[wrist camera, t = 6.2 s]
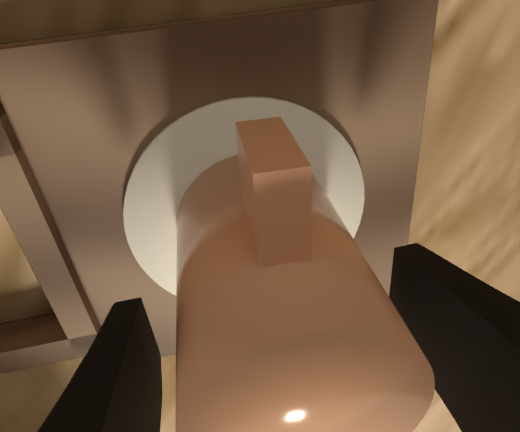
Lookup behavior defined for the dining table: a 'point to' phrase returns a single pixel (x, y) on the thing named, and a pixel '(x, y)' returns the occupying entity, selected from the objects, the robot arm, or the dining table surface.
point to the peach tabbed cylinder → (284, 306)
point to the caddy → (196, 146)
